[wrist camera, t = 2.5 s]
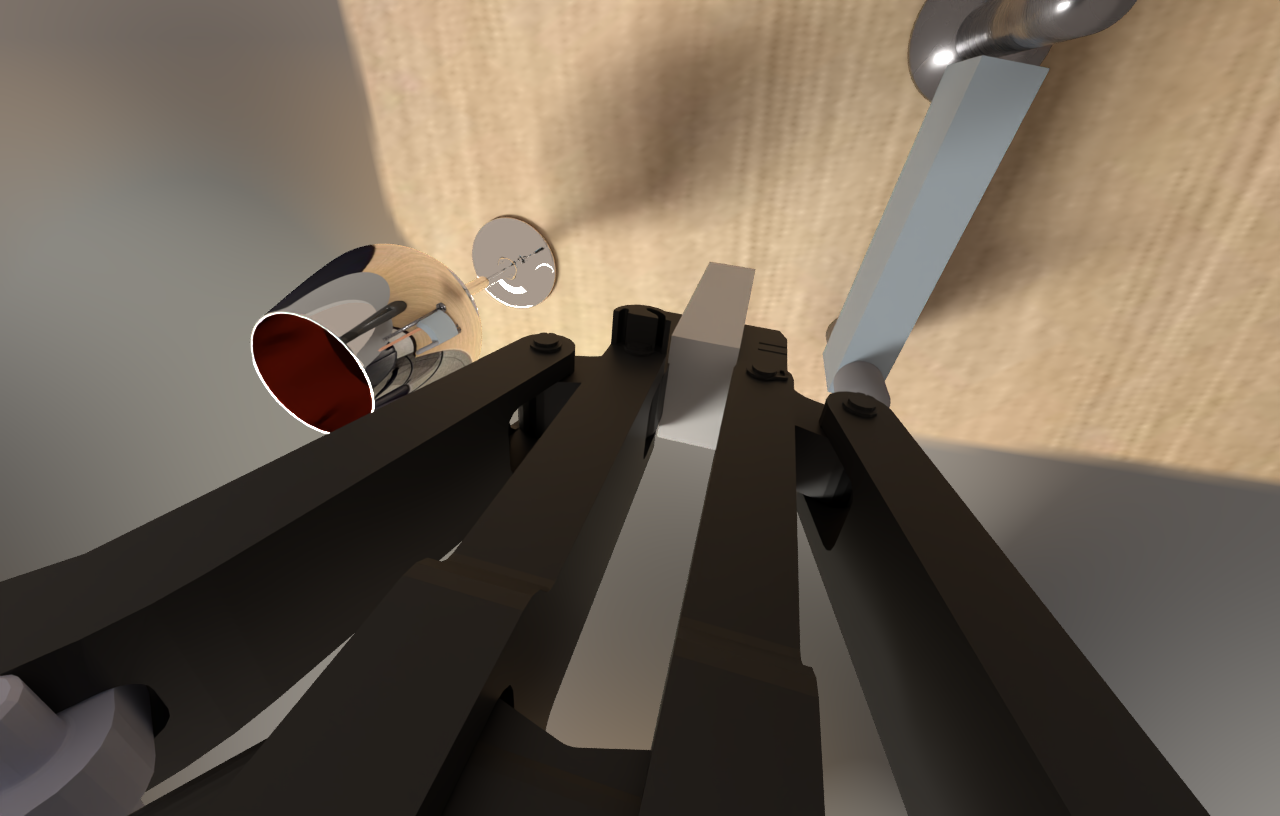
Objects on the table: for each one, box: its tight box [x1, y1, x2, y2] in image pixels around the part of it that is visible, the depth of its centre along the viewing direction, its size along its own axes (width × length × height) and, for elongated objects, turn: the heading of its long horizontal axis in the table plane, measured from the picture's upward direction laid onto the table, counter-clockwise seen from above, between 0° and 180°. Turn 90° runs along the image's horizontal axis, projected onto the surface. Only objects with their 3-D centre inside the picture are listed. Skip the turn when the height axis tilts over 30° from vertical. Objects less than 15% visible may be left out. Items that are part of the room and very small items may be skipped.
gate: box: [823, 55, 1050, 408], centre depth 24 cm, size 15×2×9 cm, turn 170°
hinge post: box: [908, 0, 1137, 102], centre depth 19 cm, size 6×6×11 cm
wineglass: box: [250, 217, 556, 434], centre depth 28 cm, size 8×8×18 cm
